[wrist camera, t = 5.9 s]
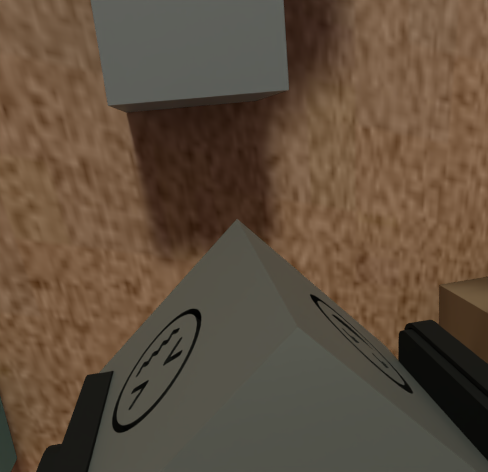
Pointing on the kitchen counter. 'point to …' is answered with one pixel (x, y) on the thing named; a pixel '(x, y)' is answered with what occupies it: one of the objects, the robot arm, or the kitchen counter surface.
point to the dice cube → (266, 382)
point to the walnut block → (466, 313)
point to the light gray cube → (190, 52)
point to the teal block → (6, 444)
